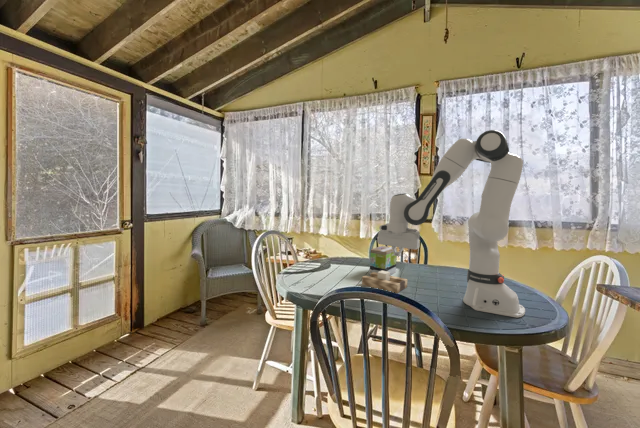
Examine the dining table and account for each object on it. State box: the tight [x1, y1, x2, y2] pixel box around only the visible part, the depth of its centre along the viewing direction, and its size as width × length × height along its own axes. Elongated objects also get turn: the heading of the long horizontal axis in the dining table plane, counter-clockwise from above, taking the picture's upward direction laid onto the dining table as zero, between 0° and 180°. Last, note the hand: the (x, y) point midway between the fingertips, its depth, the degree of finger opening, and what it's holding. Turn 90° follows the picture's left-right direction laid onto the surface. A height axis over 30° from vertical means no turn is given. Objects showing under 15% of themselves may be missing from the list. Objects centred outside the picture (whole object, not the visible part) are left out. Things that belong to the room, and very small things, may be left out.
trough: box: [361, 272, 408, 294], centre depth 150 cm, size 19×12×4 cm, turn 51°
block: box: [377, 270, 391, 281], centre depth 150 cm, size 4×4×7 cm
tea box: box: [368, 245, 398, 276], centre depth 171 cm, size 15×10×15 cm
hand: (397, 255), depth 144 cm, fingers closed
